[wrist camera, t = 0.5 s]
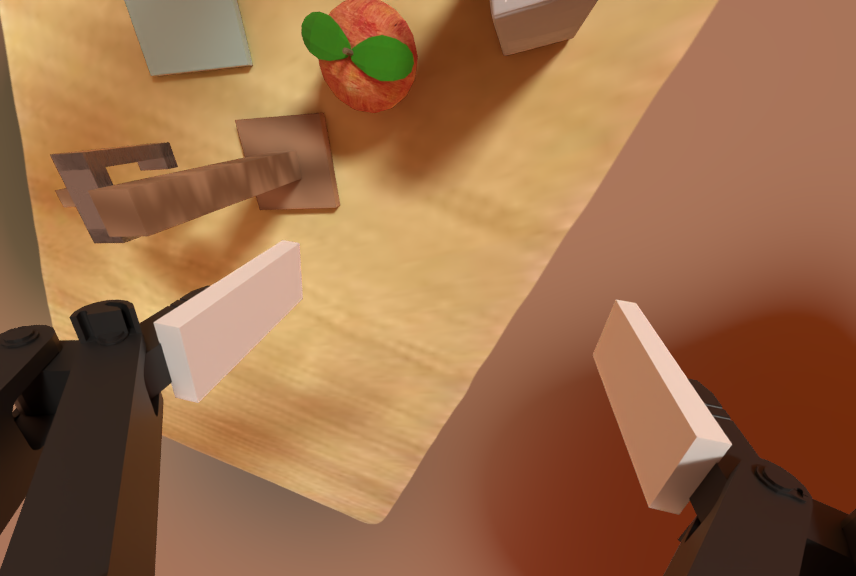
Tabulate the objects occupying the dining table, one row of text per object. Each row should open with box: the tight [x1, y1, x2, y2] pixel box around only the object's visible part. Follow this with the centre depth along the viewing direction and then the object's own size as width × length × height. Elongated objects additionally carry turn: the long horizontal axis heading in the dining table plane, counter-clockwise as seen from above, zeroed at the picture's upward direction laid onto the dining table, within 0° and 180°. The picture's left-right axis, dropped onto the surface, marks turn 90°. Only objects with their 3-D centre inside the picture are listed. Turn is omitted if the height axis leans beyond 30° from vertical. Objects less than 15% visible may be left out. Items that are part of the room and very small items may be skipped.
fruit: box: [302, 0, 418, 113], centre depth 32 cm, size 9×10×10 cm
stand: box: [55, 113, 340, 237], centre depth 33 cm, size 10×18×22 cm, turn 94°
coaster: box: [124, 0, 253, 76], centre depth 36 cm, size 12×12×1 cm
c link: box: [50, 142, 178, 243], centre depth 32 cm, size 7×3×8 cm, turn 4°
